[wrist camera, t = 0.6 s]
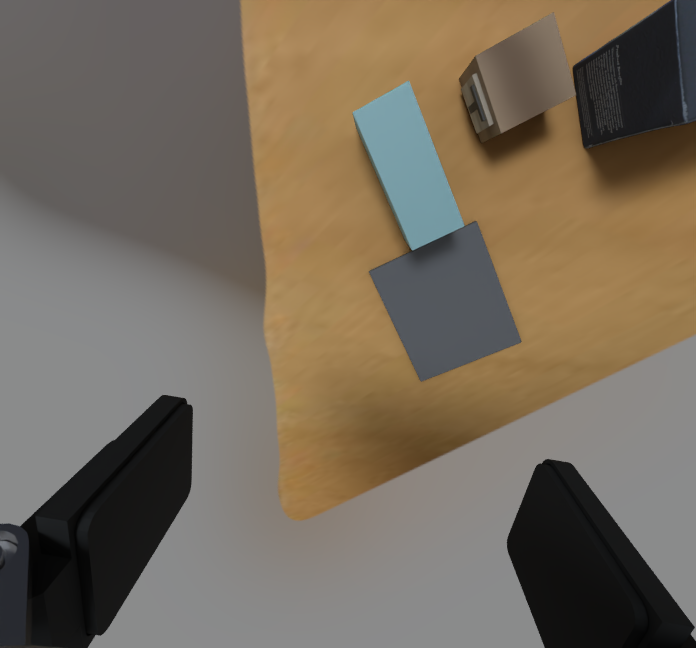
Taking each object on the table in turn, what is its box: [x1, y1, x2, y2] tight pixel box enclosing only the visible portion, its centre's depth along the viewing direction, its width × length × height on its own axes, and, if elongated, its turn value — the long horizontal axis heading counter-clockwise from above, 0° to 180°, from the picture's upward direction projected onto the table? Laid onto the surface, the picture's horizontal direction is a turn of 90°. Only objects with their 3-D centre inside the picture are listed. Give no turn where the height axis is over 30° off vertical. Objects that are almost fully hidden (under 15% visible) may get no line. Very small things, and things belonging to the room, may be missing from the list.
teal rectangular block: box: [353, 81, 464, 251], centre depth 28 cm, size 4×10×6 cm, turn 26°
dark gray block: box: [369, 221, 522, 381], centre depth 34 cm, size 10×12×1 cm
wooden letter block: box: [459, 12, 576, 143], centre depth 26 cm, size 6×5×5 cm
